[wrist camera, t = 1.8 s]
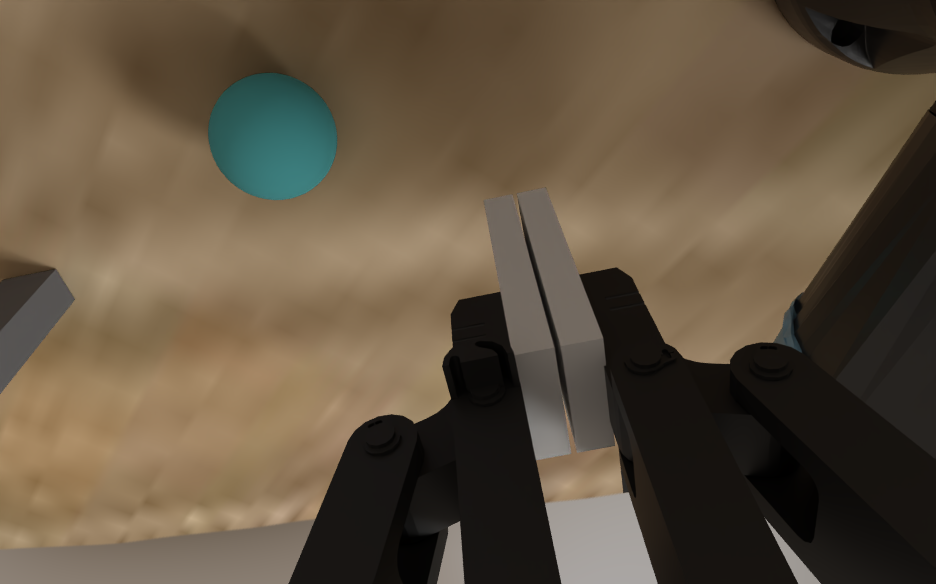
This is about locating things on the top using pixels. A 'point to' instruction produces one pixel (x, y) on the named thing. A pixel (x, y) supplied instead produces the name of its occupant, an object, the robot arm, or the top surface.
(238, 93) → the ball
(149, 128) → the top surface
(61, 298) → the bridge
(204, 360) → the top surface
